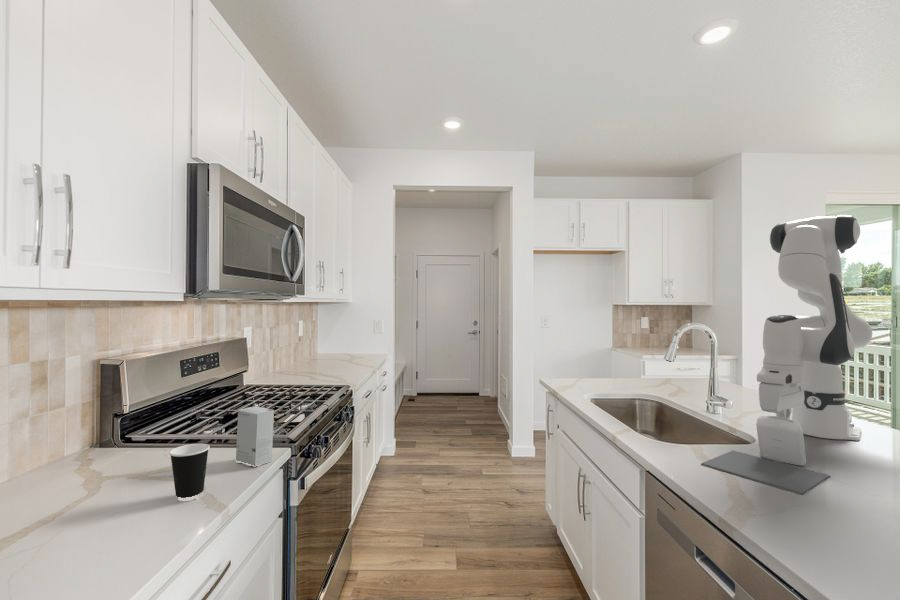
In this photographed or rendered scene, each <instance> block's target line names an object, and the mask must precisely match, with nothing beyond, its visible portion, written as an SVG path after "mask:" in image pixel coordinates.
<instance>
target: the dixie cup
mask: <svg viewBox="0 0 900 600" xmlns="http://www.w3.org/2000/svg"><path fill="white" fill-rule="evenodd" d="M210 447H211V446H210V444H207V443H190V444H185V445H181V446H177V447H175V448H172V449H171V450H170V451H169V453H168V454H169V456H170V461H171V469H172V475H173V476H172V477H173V484H174V490H175V491H174V492H175V496H177V497H181V498H186V497H192V496H195V495H198V494H200V493H202V494H203V492H204V490H205V489H204V488H205V480H206V473H207V464H208V454H209V449H210ZM177 497H176V498H177Z"/></svg>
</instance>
